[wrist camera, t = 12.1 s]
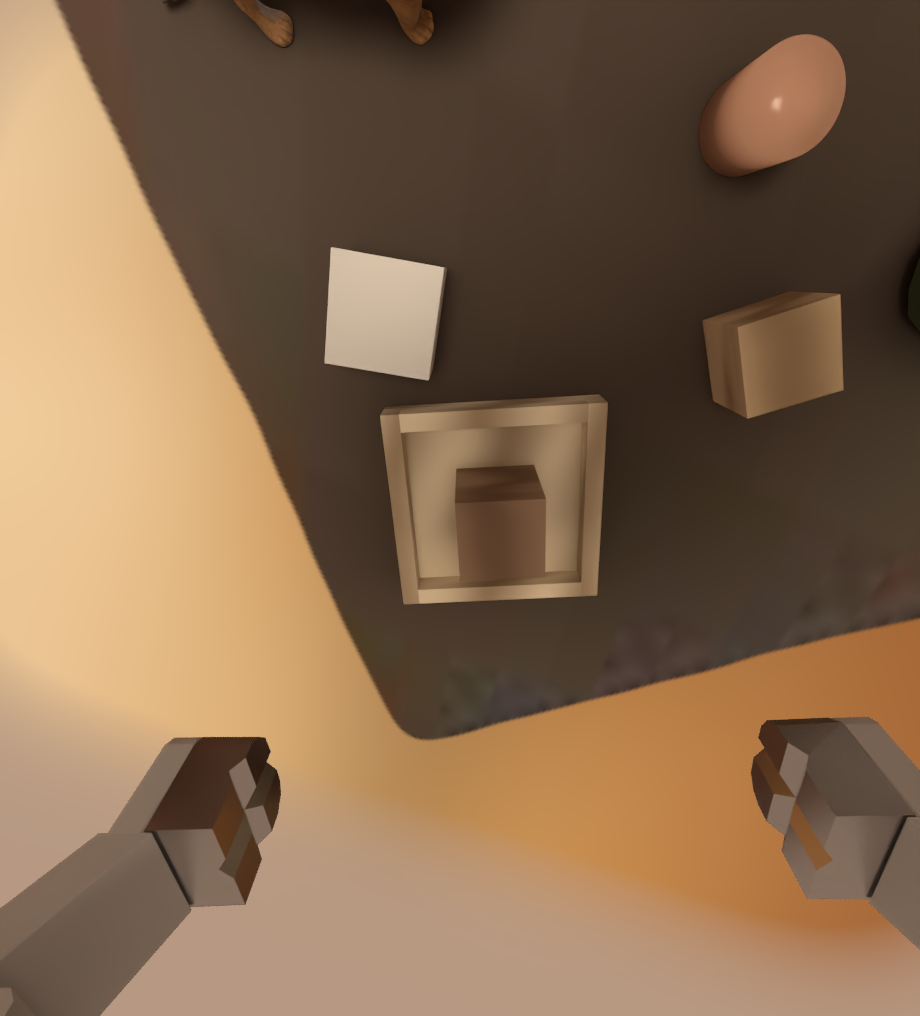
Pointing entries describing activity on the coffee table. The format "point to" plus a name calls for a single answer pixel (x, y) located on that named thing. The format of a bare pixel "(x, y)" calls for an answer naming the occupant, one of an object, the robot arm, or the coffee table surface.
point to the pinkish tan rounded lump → (773, 107)
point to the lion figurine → (281, 28)
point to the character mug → (915, 298)
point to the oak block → (775, 352)
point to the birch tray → (492, 443)
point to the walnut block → (500, 523)
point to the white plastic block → (383, 313)
